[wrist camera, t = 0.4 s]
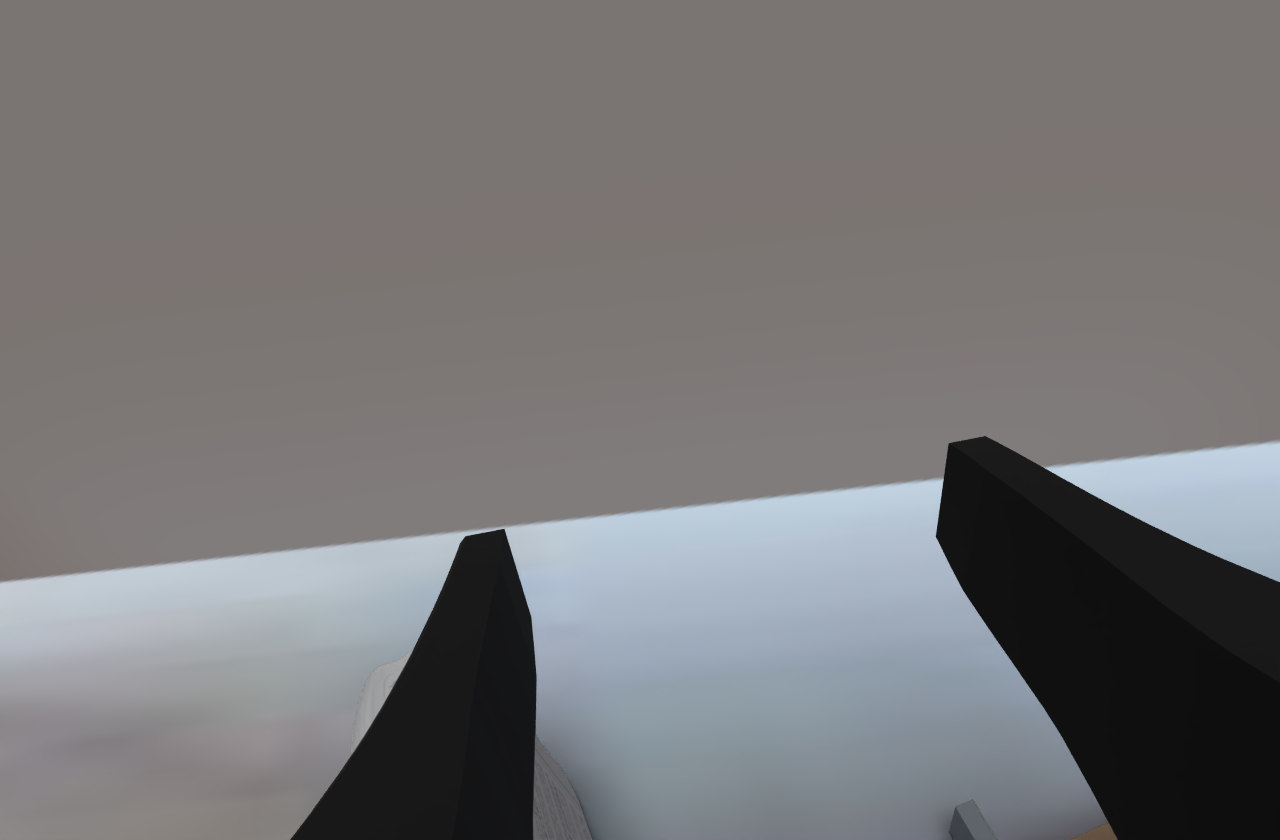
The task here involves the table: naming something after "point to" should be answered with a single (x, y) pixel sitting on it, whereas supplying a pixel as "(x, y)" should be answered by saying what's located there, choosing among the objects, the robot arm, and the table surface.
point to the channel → (970, 823)
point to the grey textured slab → (555, 802)
